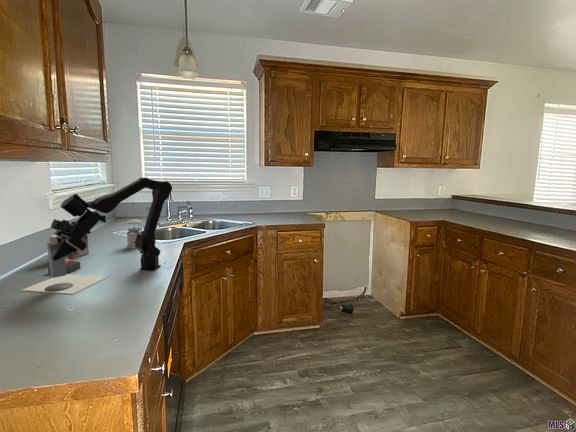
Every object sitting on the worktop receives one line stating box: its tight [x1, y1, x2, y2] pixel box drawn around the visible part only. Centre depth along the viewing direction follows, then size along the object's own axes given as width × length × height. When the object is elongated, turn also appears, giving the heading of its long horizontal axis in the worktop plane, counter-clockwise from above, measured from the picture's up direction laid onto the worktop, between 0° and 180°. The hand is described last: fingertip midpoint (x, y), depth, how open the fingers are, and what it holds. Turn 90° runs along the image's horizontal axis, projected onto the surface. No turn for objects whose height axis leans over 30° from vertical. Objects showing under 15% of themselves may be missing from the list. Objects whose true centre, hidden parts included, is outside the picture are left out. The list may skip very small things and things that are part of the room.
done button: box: [65, 258, 74, 265], centre depth 138 cm, size 4×4×3 cm
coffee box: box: [68, 222, 90, 259], centre depth 160 cm, size 9×6×16 cm
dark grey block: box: [47, 241, 66, 278], centre depth 118 cm, size 4×4×12 cm
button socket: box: [47, 260, 81, 274], centre depth 138 cm, size 8×8×3 cm
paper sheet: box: [21, 273, 108, 295], centre depth 124 cm, size 20×18×1 cm
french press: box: [125, 201, 145, 249], centre depth 181 cm, size 10×12×25 cm
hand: (52, 258), depth 117 cm, fingers closed on dark grey block, 4 cm apart
